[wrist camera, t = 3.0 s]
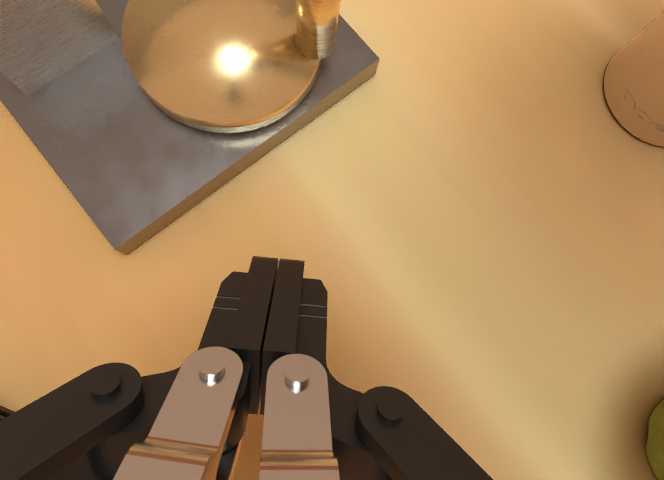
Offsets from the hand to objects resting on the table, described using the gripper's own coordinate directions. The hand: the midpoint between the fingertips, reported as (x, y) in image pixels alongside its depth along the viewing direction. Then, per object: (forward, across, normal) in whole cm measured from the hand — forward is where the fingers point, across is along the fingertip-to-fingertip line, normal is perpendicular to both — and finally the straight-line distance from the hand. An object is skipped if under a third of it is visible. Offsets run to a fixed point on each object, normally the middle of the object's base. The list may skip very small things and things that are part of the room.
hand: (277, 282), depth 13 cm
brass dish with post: (+22, +6, -2) cm, 23 cm away
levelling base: (+24, +10, -1) cm, 26 cm away
